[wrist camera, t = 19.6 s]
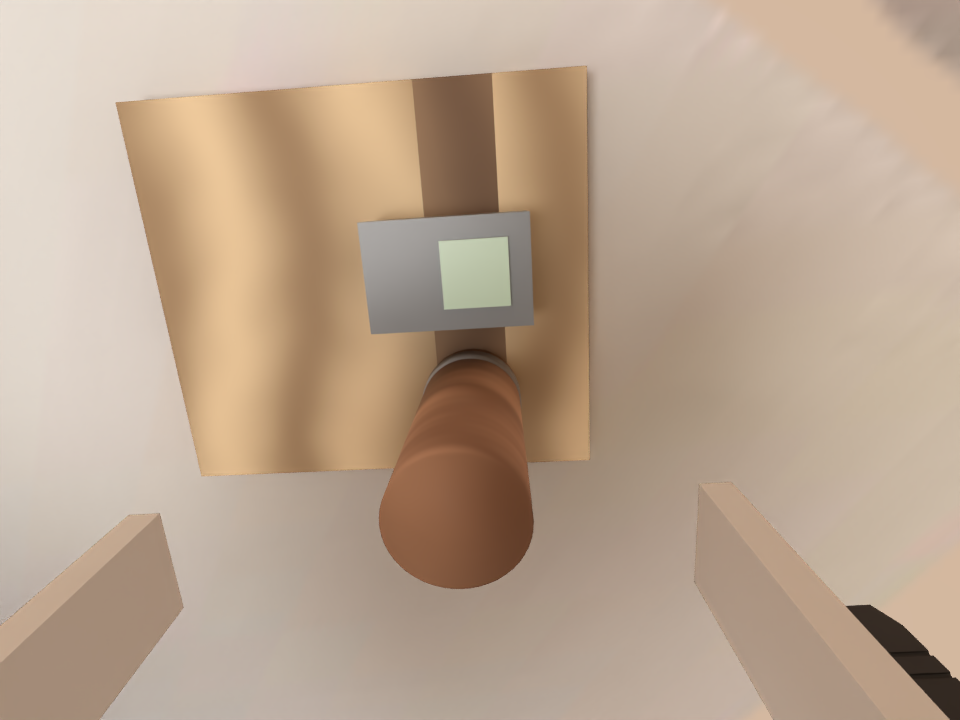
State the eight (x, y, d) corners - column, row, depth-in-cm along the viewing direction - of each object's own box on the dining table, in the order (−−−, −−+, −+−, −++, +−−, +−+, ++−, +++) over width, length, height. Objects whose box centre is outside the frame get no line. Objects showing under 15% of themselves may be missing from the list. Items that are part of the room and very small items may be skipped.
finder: (386, 317, 23) (369, 335, 20) (376, 220, 21) (355, 222, 18) (529, 309, 22) (534, 326, 19) (525, 210, 21) (530, 211, 18)
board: (214, 464, 26) (201, 476, 25) (135, 108, 22) (115, 102, 21) (585, 448, 25) (589, 459, 24) (581, 73, 21) (586, 65, 20)
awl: (430, 438, 24) (386, 592, 14) (422, 350, 23) (368, 454, 13) (521, 434, 24) (538, 588, 14) (518, 345, 23) (532, 447, 13)
